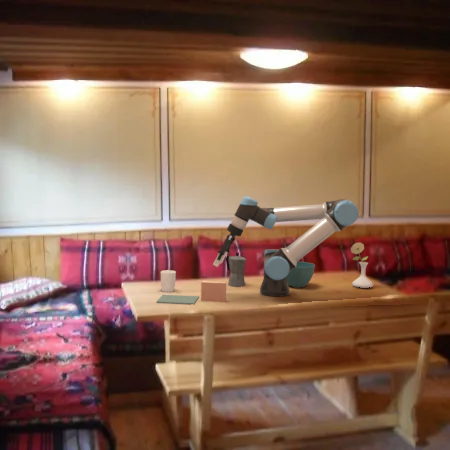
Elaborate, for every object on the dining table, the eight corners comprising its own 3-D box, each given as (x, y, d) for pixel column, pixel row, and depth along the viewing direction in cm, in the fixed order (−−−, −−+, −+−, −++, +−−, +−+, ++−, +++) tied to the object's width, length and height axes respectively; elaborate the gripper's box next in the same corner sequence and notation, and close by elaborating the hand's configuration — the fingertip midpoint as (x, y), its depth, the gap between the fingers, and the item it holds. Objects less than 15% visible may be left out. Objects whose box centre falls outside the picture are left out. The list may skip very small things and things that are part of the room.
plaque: (226, 300, 292) (226, 282, 291) (225, 301, 290) (225, 283, 289) (201, 299, 293) (202, 281, 292) (200, 300, 291) (201, 282, 290)
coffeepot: (251, 286, 327) (252, 253, 325) (239, 288, 320) (239, 255, 319) (231, 281, 338) (232, 250, 336) (219, 283, 332) (220, 251, 330)
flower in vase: (371, 285, 336) (373, 241, 333) (374, 289, 325) (376, 244, 322) (347, 284, 337) (349, 240, 335) (350, 288, 326) (352, 243, 323)
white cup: (161, 292, 306) (161, 273, 305) (159, 289, 314) (159, 270, 313) (176, 292, 308) (176, 272, 307) (174, 288, 316) (174, 270, 315)
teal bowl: (320, 288, 325) (321, 266, 323) (290, 290, 318) (291, 267, 317) (303, 282, 341) (304, 260, 340) (275, 283, 335) (275, 262, 333)
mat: (198, 297, 297) (198, 296, 297) (193, 304, 282) (193, 303, 282) (162, 295, 299) (162, 294, 299) (156, 302, 284) (156, 301, 284)
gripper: (233, 221, 307) (214, 257, 309) (227, 224, 282) (206, 263, 284) (246, 228, 306) (227, 264, 308) (241, 231, 281) (220, 271, 284)
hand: (217, 264), depth 296 cm, fingers open, 13 cm apart
